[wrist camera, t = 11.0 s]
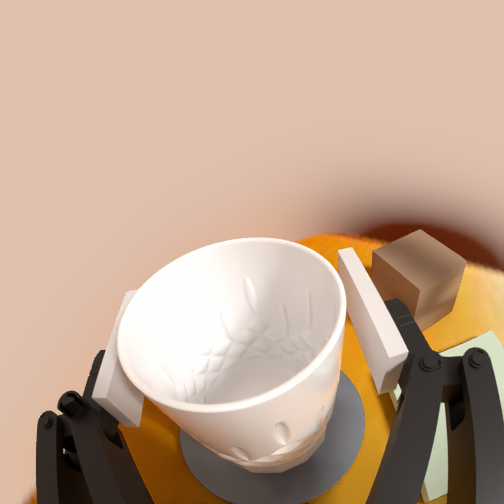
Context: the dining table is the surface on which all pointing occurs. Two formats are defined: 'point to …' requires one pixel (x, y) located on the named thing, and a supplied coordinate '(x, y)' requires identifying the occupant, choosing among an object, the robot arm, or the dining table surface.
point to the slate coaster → (297, 478)
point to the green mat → (438, 462)
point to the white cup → (241, 348)
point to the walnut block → (418, 276)
